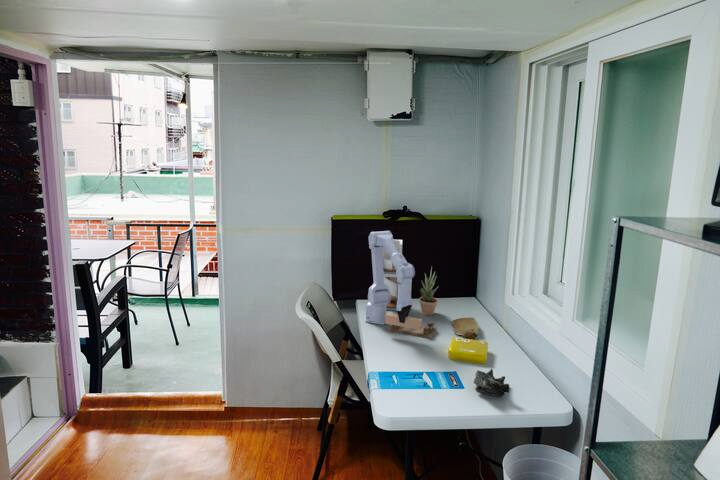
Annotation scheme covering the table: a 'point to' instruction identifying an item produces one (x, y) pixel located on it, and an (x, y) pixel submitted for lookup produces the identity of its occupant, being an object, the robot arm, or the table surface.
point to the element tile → (468, 350)
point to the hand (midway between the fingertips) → (403, 321)
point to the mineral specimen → (490, 383)
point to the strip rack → (416, 330)
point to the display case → (391, 275)
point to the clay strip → (409, 322)
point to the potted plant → (428, 296)
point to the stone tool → (466, 327)
